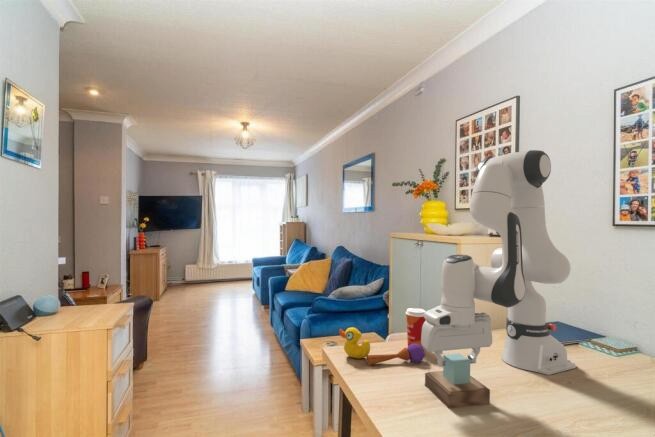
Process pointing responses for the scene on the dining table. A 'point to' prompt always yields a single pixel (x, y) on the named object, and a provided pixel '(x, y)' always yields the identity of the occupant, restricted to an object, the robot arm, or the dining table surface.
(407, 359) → the kendama
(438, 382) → the walnut base
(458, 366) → the teal block
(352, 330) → the duckling
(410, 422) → the dining table surface
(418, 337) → the paper cup
